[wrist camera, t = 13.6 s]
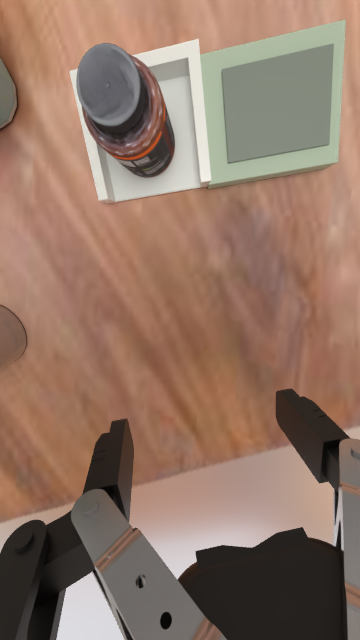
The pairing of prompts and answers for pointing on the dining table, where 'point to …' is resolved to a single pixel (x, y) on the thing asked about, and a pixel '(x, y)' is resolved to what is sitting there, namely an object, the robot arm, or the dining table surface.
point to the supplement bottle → (125, 110)
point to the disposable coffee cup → (6, 96)
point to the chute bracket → (187, 122)
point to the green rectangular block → (274, 105)
